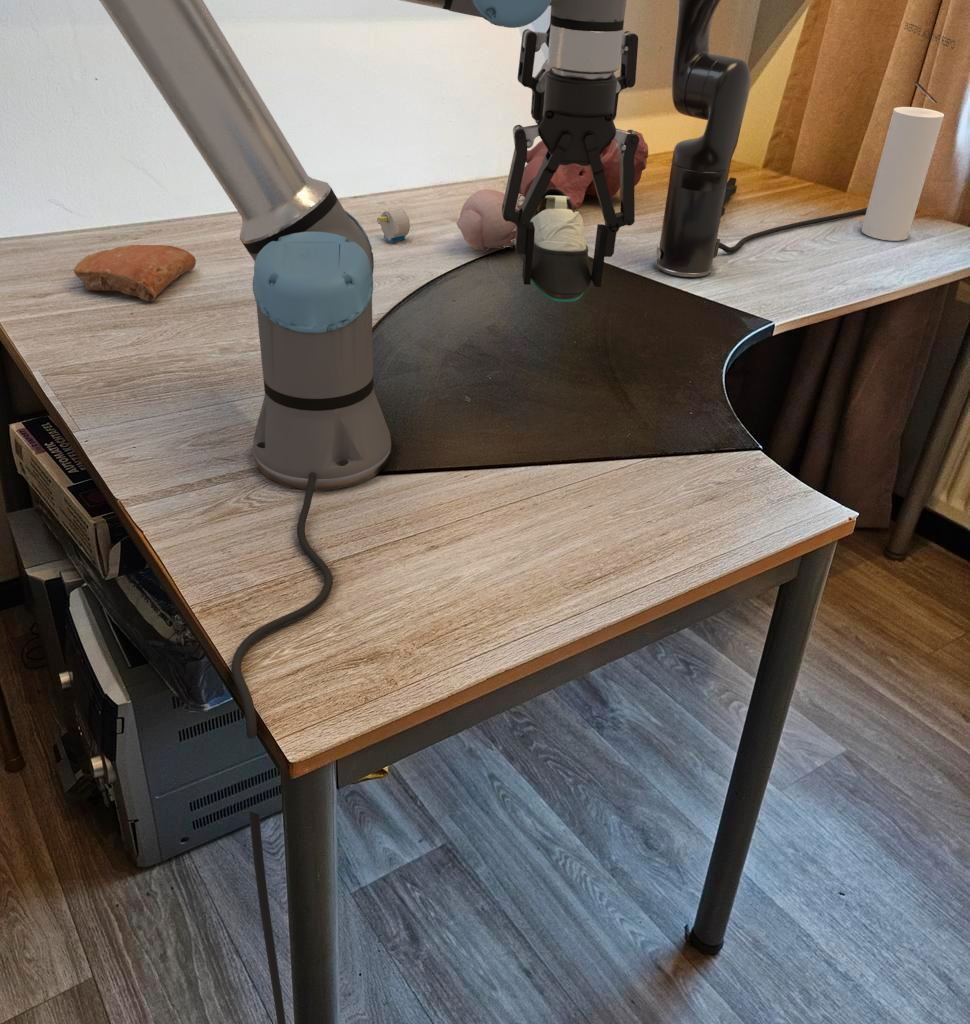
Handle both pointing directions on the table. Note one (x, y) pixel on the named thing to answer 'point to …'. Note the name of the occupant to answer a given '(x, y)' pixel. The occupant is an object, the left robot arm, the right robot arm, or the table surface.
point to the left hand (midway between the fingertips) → (561, 281)
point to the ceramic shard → (134, 269)
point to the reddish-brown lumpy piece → (583, 172)
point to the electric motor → (394, 225)
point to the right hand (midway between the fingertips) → (572, 123)
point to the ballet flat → (559, 249)
